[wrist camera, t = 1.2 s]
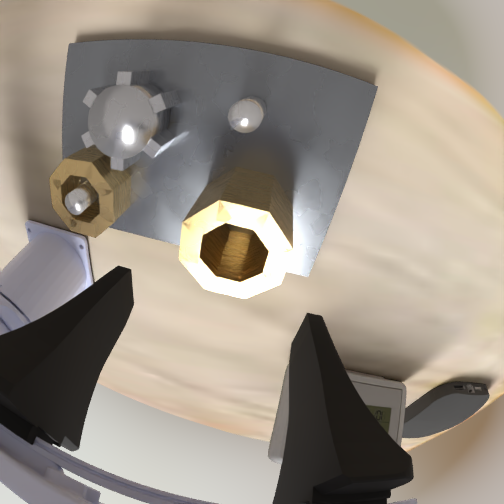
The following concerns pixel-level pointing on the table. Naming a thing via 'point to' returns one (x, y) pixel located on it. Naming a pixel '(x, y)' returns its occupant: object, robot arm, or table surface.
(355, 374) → the digital clock
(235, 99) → the plate
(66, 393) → the robot arm
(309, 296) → the table surface
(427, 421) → the media streaming box
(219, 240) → the brass octagonal sleeve
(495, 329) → the table surface
